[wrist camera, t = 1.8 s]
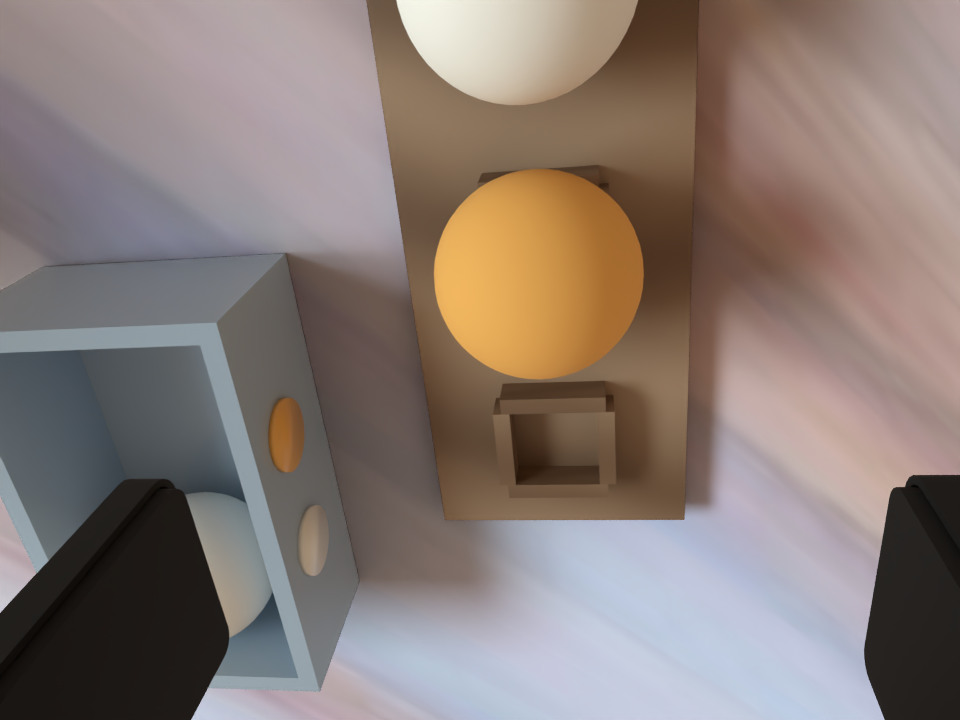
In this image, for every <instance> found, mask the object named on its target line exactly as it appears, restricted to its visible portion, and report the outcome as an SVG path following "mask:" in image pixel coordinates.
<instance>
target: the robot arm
mask: <svg viewBox="0 0 960 720" xmlns="http://www.w3.org/2000/svg"><path fill="white" fill-rule="evenodd" d="M228 645H229V628H228V624H227V621H226V618H225V615H224V612H223V609H222V606H221V603H220V600H219V597H218V594H217V590H216V587H215V584H214V581H213V578H212V575H211V572H210V569H209V566H208V563H207V560H206V556H205V553H204V550H203V547H202V544H201V541H200V538H199V535H198V532H197V529H196V526H195V523H194V519H193V516H192V513H191V510H190V507H189V504H188V501H187V498H186V496H185V494H184V492H183V491H182V490H180V489H176V488H175V486H174V484H173V483H172V482H171V481H170V480H167V479H127V480H124V481H123V482H121V483H120V484H119V485H118V486H117V487H116V488H115V489H114V490H113V491H112V492H111V493H110V495H109V496H108V497H107V498H106V499H105V500H104V501H103V502H102V503H101V504H100V505H99V506H98V508H97V509H96V510H95V511H94V512H93V513H92V514H91V515H90V516H89V517H88V518H87V520H86V521H85V522H84V523H83V524H82V525H81V526H80V527H79V528H78V529H77V530H76V531H75V533H74V534H73V535H72V536H71V537H70V538H69V539H68V540H67V541H66V542H65V543H64V544H63V546H62V547H61V548H60V549H59V550H58V551H57V552H56V553H55V554H54V555H53V556H52V557H51V559H50V560H49V561H48V562H47V563H46V564H45V565H44V566H43V567H42V568H41V569H40V570H39V572H38V573H37V574H36V575H35V576H34V577H33V578H32V579H31V580H30V581H29V582H28V583H27V585H26V586H25V587H24V588H23V589H22V590H21V591H20V592H19V593H18V594H17V595H16V596H15V598H14V599H13V600H12V601H11V602H10V603H9V604H8V605H7V606H6V607H5V608H4V610H3V611H2V612H1V613H0V720H191V719H192V717H193V715H194V713H195V711H196V709H197V707H198V706H199V704H200V702H201V700H202V698H203V696H204V694H205V693H206V691H207V689H208V687H209V685H210V683H211V681H212V680H213V678H214V676H215V674H216V672H217V670H218V668H219V666H220V665H221V663H222V661H223V659H224V657H225V655H226V652H227V649H228ZM864 657H865V666H866V670H867V674H868V677H869V680H870V683H871V686H872V688H873V691H874V693H875V696H876V698H877V701H878V703H879V706H880V709H881V711H882V714H883V716H884V719H885V720H960V475H913V476H911V477H909V479H908V481H907V482H906V486H905V487H896V488H893V490H892V491H891V494H890V498H889V504H888V510H887V516H886V522H885V528H884V534H883V539H882V545H881V551H880V557H879V563H878V569H877V575H876V581H875V587H874V593H873V599H872V605H871V611H870V617H869V623H868V629H867V635H866V640H865V648H864Z"/></svg>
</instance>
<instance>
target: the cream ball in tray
mask: <svg viewBox="0 0 960 720" xmlns="http://www.w3.org/2000/svg"><path fill="white" fill-rule="evenodd" d="M185 496H186V498H187V501H188V504H189V507H190V510H191V513H192V516H193V519H194V523H195V526H196V529H197V532H198V535H199V538H200V541H201V544H202V547H203V550H204V553H205V556H206V560H207V563H208V566H209V569H210V572H211V575H212V578H213V581H214V584H215V587H216V590H217V594H218V597H219V600H220V603H221V606H222V609H223V612H224V615H225V618H226V621H227V624H228V628H229V638H231V637H232V636H234V635H236V634H237V633H239V632H241V631H242V630H243V629H245V628H246V627H247V626H248V625H249V624H250V623H252V622H253V621H254V620H255V619H256V617H257V616H258V615H259V614H260V613H261V611H262V610H263V609H264V607H265V605H266V604H267V602H268V600H269V598H270V597H271V594H272V592H273V591H272V587H271V584H270V580H269V577H268V574H267V570H266V567H265V563H264V560H263V557H262V553H261V550H260V547H259V543H258V540H257V536H256V533H255V530H254V526H253V523H252V520H251V516H250V513H249V509H248V506H247V504H246V503H245V502H243V501H241V500H239V499H237V498H234V497H232V496H229V495H225V494H220V493H214V492H198V493H191V494H186V495H185Z"/></svg>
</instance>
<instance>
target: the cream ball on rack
mask: <svg viewBox="0 0 960 720" xmlns="http://www.w3.org/2000/svg"><path fill="white" fill-rule="evenodd" d="M396 1H397V6H398V9H399V13H400V16H401V19H402V22H403V24H404V27H405V29H406V31H407V33H408V36H409V38H410V40H411V41H412V43H413V44H414V46H415V48H416V49H417V51H418V53H419V54H420V55H421V56H422V58H423V59H424V60H425V62H426V63H427V64H428V65H429V66H430V67H431V68H432V69H433V70H434V71H435V72H436V73H437V74H438V75H439V76H440V77H441V78H443V79H444V80H445V81H446V82H448V83H449V84H450V85H452V86H453V87H455V88H457V89H459V90H460V91H462V92H464V93H465V94H468V95H470V96H473V97H475V98H477V99H480V100H484V101H487V102H491V103H496V104H504V105H528V104H534V103H540V102H544V101H547V100H551V99H554V98H557V97H559V96H561V95H563V94H566V93H568V92H570V91H571V90H573V89H575V88H576V87H578V86H580V85H581V84H583V83H584V82H585V81H587V80H588V79H589V78H590V77H592V76H593V75H594V74H595V73H596V72H597V71H598V70H599V69H600V68H601V67H602V66H603V65H604V64H605V63H606V62H607V61H608V60H609V58H610V57H611V56H612V54H613V53H614V52H615V50H616V49H617V48H618V46H619V44H620V43H621V41H622V39H623V37H624V36H625V34H626V32H627V30H628V28H629V25H630V23H631V21H632V18H633V16H634V13H635V9H636V6H637V3H638V0H396Z"/></svg>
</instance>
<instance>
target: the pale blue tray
mask: <svg viewBox="0 0 960 720" xmlns="http://www.w3.org/2000/svg"><path fill="white" fill-rule="evenodd" d="M127 479H167V480H170V481H171V482H172V483H173V484H174V486H175V488H176V489H180V490H182V491H183V492H184V494H185V495H186V494H191V493H198V492H214V493H220V494H225V495H229V496H232V497H234V498H237V499H239V500H241V501H243V502H245V503H246V504H247V506H248V509H249V513H250V516H251V520H252V523H253V526H254V530H255V533H256V536H257V540H258V543H259V547H260V550H261V553H262V557H263V560H264V563H265V567H266V570H267V574H268V577H269V580H270V584H271V587H272V591H273V592H272V594H271V597H270V598H269V600H268V602H267V604H266V605H265V607H264V609H263V610H262V611H261V613H260V614H259V615H258V616H257V617H256V619H255V620H254V621H253V622H252V623H250V624H249V625H248V626H247V627H246V628H245V629H243V630H242V631H241V632H239V633H237V634H236V635H234V636H232V637H231V638H229V645H228V649H227V652H226V655H225V657H224V659H223V661H222V663H221V665H220V666H219V668H218V670H217V672H216V674H215V676H214V678H213V680H212V681H211V683H210V685H209V687H208V688H223V689H253V690H283V691H313V692H320V690H321V687H322V684H323V682H324V679H325V676H326V673H327V670H328V668H329V665H330V662H331V659H332V656H333V654H334V651H335V648H336V645H337V642H338V640H339V637H340V634H341V631H342V628H343V626H344V623H345V620H346V617H347V614H348V612H349V609H350V606H351V603H352V600H353V598H354V595H355V592H356V589H357V586H358V584H359V578H358V573H357V569H356V564H355V560H354V555H353V551H352V547H351V542H350V538H349V533H348V529H347V524H346V520H345V516H344V511H343V507H342V502H341V498H340V493H339V489H338V484H337V480H336V476H335V471H334V467H333V462H332V458H331V453H330V449H329V445H328V440H327V436H326V431H325V427H324V422H323V418H322V414H321V409H320V405H319V400H318V396H317V391H316V387H315V382H314V378H313V374H312V369H311V365H310V360H309V356H308V351H307V347H306V343H305V338H304V334H303V329H302V325H301V320H300V316H299V312H298V307H297V303H296V298H295V294H294V289H293V285H292V281H291V276H290V272H289V267H288V263H287V258H286V254H285V253H282V254H264V255H246V256H229V257H211V258H194V259H176V260H158V261H141V262H123V263H106V264H88V265H70V266H53V267H41V268H39V269H38V270H36V271H34V272H32V273H31V274H29V275H27V276H25V277H24V278H22V279H20V280H19V281H17V282H15V283H13V284H12V285H10V286H8V287H6V288H5V289H3V290H1V291H0V497H1V499H2V501H3V503H4V505H5V507H6V509H7V511H8V513H9V516H10V518H11V520H12V522H13V524H14V526H15V528H16V530H17V532H18V535H19V537H20V539H21V541H22V543H23V545H24V547H25V549H26V551H27V553H28V556H29V558H30V560H31V562H32V564H33V566H34V568H35V570H36V572H37V573H38V572H39V570H40V569H41V568H42V567H43V566H44V565H45V564H46V563H47V562H48V561H49V560H50V559H51V557H52V556H53V555H54V554H55V553H56V552H57V551H58V550H59V549H60V548H61V547H62V546H63V544H64V543H65V542H66V541H67V540H68V539H69V538H70V537H71V536H72V535H73V534H74V533H75V531H76V530H77V529H78V528H79V527H80V526H81V525H82V524H83V523H84V522H85V521H86V520H87V518H88V517H89V516H90V515H91V514H92V513H93V512H94V511H95V510H96V509H97V508H98V506H99V505H100V504H101V503H102V502H103V501H104V500H105V499H106V498H107V497H108V496H109V495H110V493H111V492H112V491H113V490H114V489H115V488H116V487H117V486H118V485H119V484H120V483H121V482H123V481H124V480H127Z"/></svg>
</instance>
